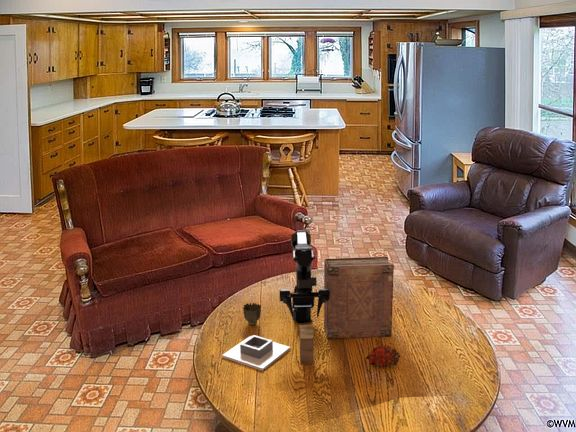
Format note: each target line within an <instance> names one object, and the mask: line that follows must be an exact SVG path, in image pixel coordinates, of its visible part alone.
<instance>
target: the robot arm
mask: <svg viewBox="0 0 576 432" xmlns="http://www.w3.org/2000/svg"><path fill="white" fill-rule="evenodd" d="M290 237H291V238H290V246H291V247H292V255H293V257H292V258H293V262H295V263H296V266H295V274H296V275H295V277H296V285H295V286H294V289H293V292H291V289H290V288H289V289H284V288H283V289H280V290H279V302H282V303H283V304H286V305H285V306H287V308H288V311H289V313H290V315H291V319H292V320H294V321H295V323H297V324H298V325H304V324H307V323H311V322H313V321H314V320H313V319H312V318H311V315H312V312H311V311H312V309H314V307H315V298H318V299H317V307H316V308H317V309H316V316H317V317H316V318H318V317H319V315H320V313H321V312H320V311H321V309H322V307H323V305H324V303H325V302H326V301H328V300H329V298H330V290H329V289H324V288H319V289H318V291H313V287H317V285H318V284H317V282H318V281H317V277H316V276H315V277H314V276H312V263H313V261H314V260H315V259H316V255H315V252H314V250H312V246H311V244H312V242H311V241H312V239H311V238H312V237H311V234H310V233H308V230H306V229H301V230H299V229H297V230H295V232H294V233H292V234H291V235H290Z"/></svg>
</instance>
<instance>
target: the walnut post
mask: <svg viewBox="0 0 576 432" xmlns="http://www.w3.org/2000/svg"><path fill="white" fill-rule="evenodd" d="M299 361H300V363H299V364H300V365H310V364H311V363H312V364H311V365H313V364H314V324H299Z"/></svg>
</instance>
